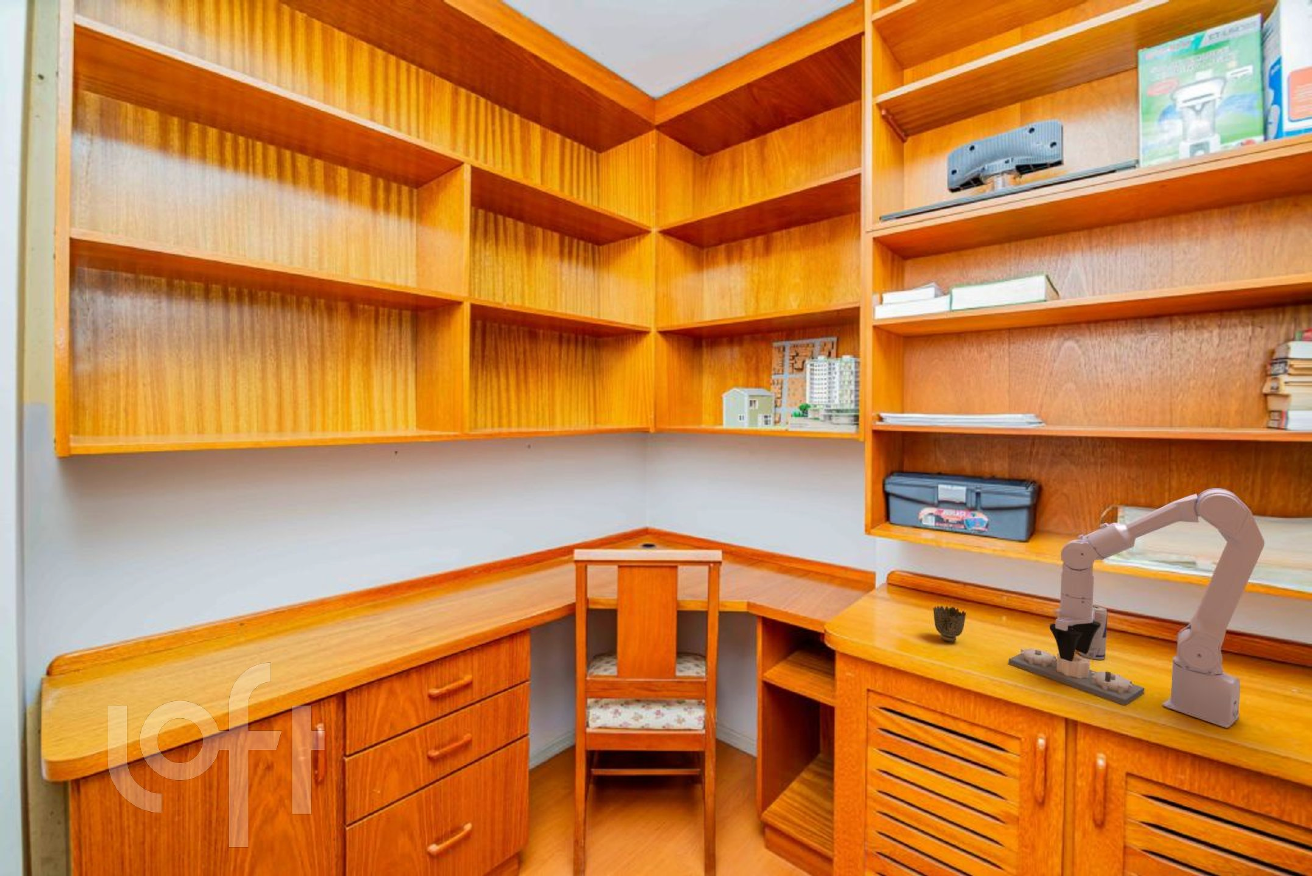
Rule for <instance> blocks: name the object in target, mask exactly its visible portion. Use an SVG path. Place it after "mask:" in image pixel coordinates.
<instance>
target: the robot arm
mask: <svg viewBox="0 0 1312 876" xmlns="http://www.w3.org/2000/svg"><path fill="white" fill-rule="evenodd" d="M1199 517H1200V518H1201V519H1202V520H1204V521H1206V522H1207V523H1208V524H1210V525H1211V526H1212V527H1214V528H1215V529H1217V531H1218V532H1219V534H1220V535H1221V536H1222V537H1223V538H1224V541H1226V544H1225V546H1224V549H1223V550H1222V553H1221V555H1220V557H1219V559H1218V562H1217V564H1216V567H1215V568H1214V571H1213V573H1212V576H1211V578H1210V580H1209V583H1208V585H1207V586H1206V589H1205V591H1204V593H1203V596H1202V598H1201V600H1200V603H1199V605H1198V607H1197V609H1196V612H1195V613H1194V615H1192V616H1193V617H1192V618H1191V620H1190V622H1189V623H1188V625H1187V626H1186V627H1184V628H1182V629H1180V630H1179V631H1178V633H1177V634H1176V643H1177V647H1176V655H1175V656H1173V657H1172V668H1171V669H1172V671H1171V684H1170V685H1171V690H1170V697H1169V698H1168V699H1167V700H1165V701H1164V702H1163V703H1162V706H1163V707H1164V708H1167V709H1170V710H1173V711H1176V712H1180V713H1182V714H1185V715H1187V716H1191V717H1194V718H1197V719H1199V720H1202V721H1205V722H1208V723H1211V724H1214V725H1217V726H1220V727H1222V728H1225V729H1226V728H1227V729H1228V728H1230V726H1232V725H1233V724H1234V723H1235V722H1236V721H1237V720H1238V719H1239V718H1240V715H1239V713H1240V712H1239V711H1240V698H1241V697H1240V696H1241V682H1240V678H1238V677H1236V676H1234V675H1231V674H1228V673H1226V672H1224V667H1223V665H1222V664H1223V655H1222V646H1223V643H1224V640H1225V635H1226V633H1227V628H1228V626H1229V623H1230V622H1231V619H1232V618H1233V616H1234V613H1235V611H1236V608H1237V606H1238V604H1239V602H1240V599H1241V598H1242V596H1243V593H1244V591H1245V589H1246V586H1247V585H1248V582H1249V580H1250V578H1251V575H1252V574H1253V571H1254V569H1255V567H1256V565H1257V562H1258V560H1259V558H1260V556H1261V553H1262V551H1263V550H1264V547H1265V539H1264V537H1263V536H1262V533H1261V531H1260V528H1259V526H1258V524H1257V522H1256V520H1255V517H1254V514H1253V513H1252V510H1251V509H1250V508H1248V506H1247V505H1246V504H1245V503H1244V502H1243V501H1242V500H1241V499H1240V498H1239V497H1238V496H1237V495H1236V494H1235V493H1234V492H1232V491H1230V490H1227V489H1225V488H1219V487H1218V488H1217V487H1216V488H1213V487H1212V488H1209V489H1206V490H1203V491H1202V492H1200V493H1199V494H1198V495H1197V493H1194V494H1191V495H1188V496H1185V497H1183V498H1180V499H1177V500H1173V501H1172V502H1170V503H1168V504H1166V505H1163V506H1162V507H1160V508H1157V509H1155V510H1153V511H1151V512H1148V513H1147V514H1145V515H1142V516H1140V517H1139V518H1137V519H1135V520H1133V521H1130V522H1128V523H1126V524H1123V523H1118V522H1112V523H1107V522H1105V523H1103V524H1100V526H1099V527H1100V528H1098V529H1096V530H1095V531H1092V532H1090V533H1087V534H1085V535H1084V534H1083V533H1082V534H1080V535H1078V536H1077V539H1073V540H1071V541H1069V542H1068V543H1066V544H1065V545H1064V546H1063V548H1062V549H1061V551H1060V558H1061V560H1062V562H1063V563H1062V565H1061V568H1062V572H1061V575H1060V577H1061V579H1060V602H1059V605H1060V606H1059V608H1057V609H1053V613H1054V614H1055V615H1058V616H1057V618H1056V619H1055V622H1053V623H1051V624H1049V630H1050V631H1051V633H1052V635H1053V637H1054V639H1055V642H1056V645H1057V650H1058V653H1059V655H1060V658H1061V659H1064V660H1067V661H1072V660H1073V658H1074V655H1076V654H1075V653H1076V652H1077V653H1078V652H1081V653H1085V654H1087V653H1088V651H1089V648H1090V645H1091V642H1092V639H1093V637H1094V635H1095V633H1096V631H1097V630H1098V629H1099V628H1100V626H1101V623H1099V622H1096V621H1093V619H1095V610H1092V608H1093V603H1094V599H1093V598H1094V580H1095V578H1094V574H1093V573H1094V572H1093V571H1094V570H1093V569H1094V563H1095V561H1096V560H1097V561H1099V560H1100V561H1103V560H1105V559H1108V558H1111V557H1112V556H1115V555H1118V554H1120V553H1122V552H1124V551H1127V550H1129V549H1132V548H1134V546H1135V541H1136V539H1137V538H1140V537H1142V536H1146V535H1147V534H1150V533H1152V532H1155V531H1158V530H1161V529H1163V528H1166V527H1167V526H1170V525H1172V524H1175V523H1179V522H1183V523H1184V522H1185V523H1199V522H1200V521H1199Z"/></svg>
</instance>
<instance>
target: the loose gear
mask: <svg viewBox="0 0 1312 876" xmlns="http://www.w3.org/2000/svg"><path fill="white" fill-rule="evenodd" d="M1056 659H1057V671H1058V672H1062V673H1063V674H1064V675H1066V676H1072V677H1076V678H1080V679H1082V678H1089V670H1091V666H1090V665H1091V663H1090V659H1089V658H1086V657H1085V658H1084V656H1082V655H1080V654H1074V658H1073V660H1072V661H1067V660H1064V659H1061V658H1060V655H1059V652H1058V653H1057V655H1056ZM1074 660H1076V661H1074Z"/></svg>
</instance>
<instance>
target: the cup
mask: <svg viewBox="0 0 1312 876" xmlns="http://www.w3.org/2000/svg"><path fill="white" fill-rule="evenodd" d="M932 609H933V621H934V626H935V630H936V631H937V632H938V633H939V634H940V639H941V641H942V642H945V643H952V644H953V643H956V642H957V637H959V636H960V635H961V634H962V633H963V631H964V626H965V621H966V616H967V612H965V610H962V611H959V607H958V608H955V606H950V607H949V606H948V605H946V606H945V607H943V606H942V605H940V606H939V605H937V606H934V607H932Z"/></svg>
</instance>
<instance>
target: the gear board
mask: <svg viewBox="0 0 1312 876" xmlns="http://www.w3.org/2000/svg"><path fill="white" fill-rule="evenodd" d="M1074 661H1076V660H1074ZM1007 662H1008V665H1010V666H1013V667H1016V668H1018V667H1019V668H1020V669H1022V670H1025V671H1028V672H1029V673H1032V674H1035V675H1039V676H1040V677H1045V678H1047V679H1049V678H1050V679H1049V680H1052V681H1055V682H1058V683H1061V684H1063V685H1067V686H1069V687H1072V688H1074V689H1077V690H1080V691H1083V692H1086V693H1088V694H1090V695H1091V694H1092V695H1094V696H1097V697H1099V698H1102V699H1105V700H1108V701H1110V702H1114V703H1116V704H1119V705H1122V706H1127V705H1129V704H1130V703H1132V702H1133V701H1135V700H1136V699H1138V698H1139V697H1141V696H1142V695H1144V694H1145V687H1144V686H1143V687H1142V686H1140V685H1137V684H1133V683H1132V680H1130V679H1127V678H1125V677H1123V676H1121V675H1120V674H1115V673H1112V672H1110V671H1103V670H1101V671H1098V672H1097V671H1095V670H1091V669H1090V670H1089V678H1082V679H1080V678H1076V677H1072V676H1066V675H1064V674H1063V673H1062V672H1058V671H1057V655H1055V654H1054V655H1053V654H1051V653H1048V652H1047V651H1046V650H1039V649H1035V648H1033V647H1032V648H1031V647H1029V648H1026V649H1025V648H1021V649H1020V653H1019V654H1017V655H1015V656H1011V658H1008V661H1007Z"/></svg>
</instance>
